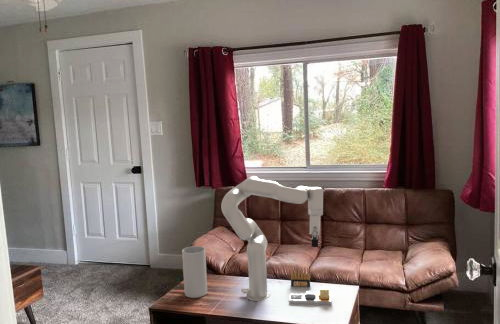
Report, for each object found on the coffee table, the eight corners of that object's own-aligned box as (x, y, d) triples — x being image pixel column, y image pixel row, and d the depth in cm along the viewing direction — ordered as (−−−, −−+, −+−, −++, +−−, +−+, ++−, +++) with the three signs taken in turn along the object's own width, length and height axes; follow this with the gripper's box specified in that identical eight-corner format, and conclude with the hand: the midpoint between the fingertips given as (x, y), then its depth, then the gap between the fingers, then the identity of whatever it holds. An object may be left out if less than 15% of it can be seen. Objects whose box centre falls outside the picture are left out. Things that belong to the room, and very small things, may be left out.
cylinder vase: (180, 293, 237) (177, 249, 235) (200, 287, 245) (197, 244, 242) (191, 300, 227) (189, 255, 225) (211, 293, 235) (209, 249, 232)
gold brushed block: (320, 302, 216) (320, 289, 215) (320, 299, 220) (320, 286, 219) (328, 303, 215) (328, 289, 215) (328, 299, 219) (328, 286, 219)
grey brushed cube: (306, 302, 217) (305, 294, 217) (306, 299, 221) (305, 290, 221) (314, 302, 216) (314, 294, 216) (314, 299, 221) (314, 290, 220)
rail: (289, 305, 217) (289, 299, 216) (290, 299, 224) (289, 293, 224) (331, 306, 213) (331, 301, 213) (330, 300, 221) (330, 294, 221)
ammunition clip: (310, 287, 238) (309, 266, 237) (310, 288, 237) (309, 267, 235) (291, 286, 240) (290, 266, 239) (290, 288, 238) (290, 267, 237)
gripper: (308, 207, 228) (308, 238, 230) (307, 215, 211) (307, 248, 213) (323, 207, 227) (322, 239, 229) (322, 215, 210) (322, 249, 212)
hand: (315, 243), depth 221 cm, fingers open, 9 cm apart
